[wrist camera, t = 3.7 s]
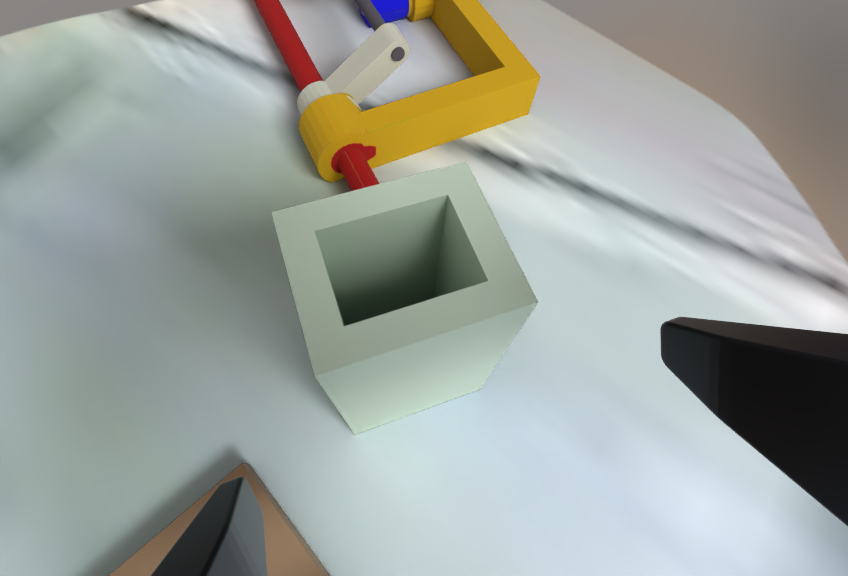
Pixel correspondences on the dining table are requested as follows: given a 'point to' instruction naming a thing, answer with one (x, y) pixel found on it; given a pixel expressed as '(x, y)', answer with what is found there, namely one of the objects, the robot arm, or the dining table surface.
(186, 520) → the peg stand
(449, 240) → the sleeve
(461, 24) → the mechanical clamp
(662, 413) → the dining table surface
